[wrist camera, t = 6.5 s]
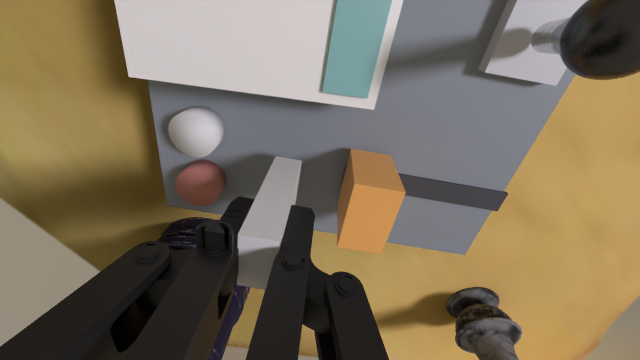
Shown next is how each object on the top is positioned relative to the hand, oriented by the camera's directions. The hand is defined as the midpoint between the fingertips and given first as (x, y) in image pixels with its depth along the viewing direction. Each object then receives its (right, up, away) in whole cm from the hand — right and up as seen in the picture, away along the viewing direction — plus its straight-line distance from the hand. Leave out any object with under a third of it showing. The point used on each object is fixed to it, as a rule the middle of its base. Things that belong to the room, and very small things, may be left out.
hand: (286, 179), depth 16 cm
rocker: (0, +7, -4) cm, 8 cm away
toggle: (+12, +6, -4) cm, 14 cm away
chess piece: (+18, -13, +13) cm, 26 cm away
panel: (+4, +6, +3) cm, 7 cm away
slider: (+5, 0, +1) cm, 5 cm away
